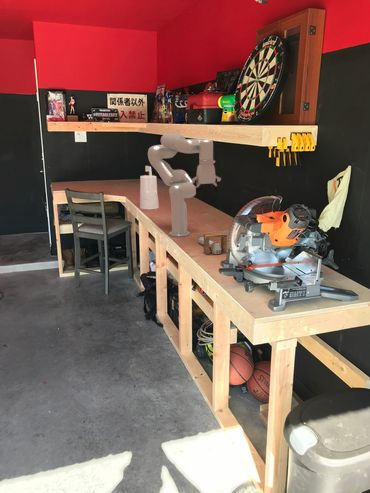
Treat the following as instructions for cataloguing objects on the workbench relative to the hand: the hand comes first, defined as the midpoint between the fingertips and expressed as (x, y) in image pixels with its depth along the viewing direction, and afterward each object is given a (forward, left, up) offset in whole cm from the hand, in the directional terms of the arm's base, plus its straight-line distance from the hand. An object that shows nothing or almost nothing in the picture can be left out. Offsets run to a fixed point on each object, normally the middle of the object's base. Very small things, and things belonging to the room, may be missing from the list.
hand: (206, 193), depth 239 cm
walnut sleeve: (+21, -2, -28) cm, 35 cm away
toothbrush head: (+12, -2, -29) cm, 31 cm away
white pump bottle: (-112, -11, -29) cm, 116 cm away
